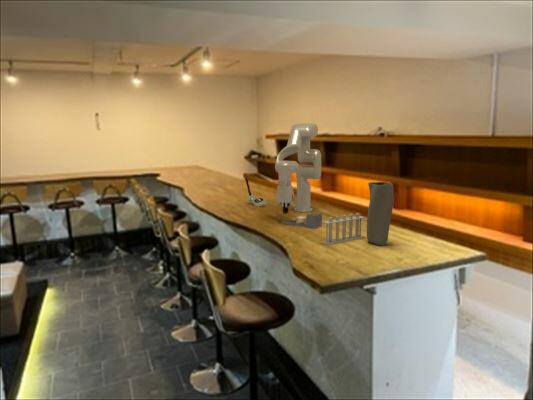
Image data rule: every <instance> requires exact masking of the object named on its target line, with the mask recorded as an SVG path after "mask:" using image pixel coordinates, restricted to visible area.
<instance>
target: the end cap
mask: <svg viewBox="0 0 533 400" xmlns="http://www.w3.org/2000/svg"><path fill="white" fill-rule="evenodd" d="M305 217H306V227H305V228H307V229H314V230H317V229H319V228H320V227H322V226H323V225H322V224H323V220H322V219H323V213H320V212H311V213H310V212H309V213H308V214H306V216H305Z"/></svg>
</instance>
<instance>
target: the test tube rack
mask: <svg viewBox="0 0 533 400" xmlns="http://www.w3.org/2000/svg"><path fill="white" fill-rule="evenodd" d="M348 216H349V217H347V215H346V214H343V215H342V218H340V215H336V216H335V219H333V217H332V216H329V217H328V220H324V221H323V220H322V224H323V223H324V224H325V225H326V228H325V233H326V234H325V235H326V236H325V240H324V241H323V240H322V241H321V243H322V244H324V245H326V246H329V245H333V244H339V243H344V242H346V243H347V242H350V241H355V240H359V239H360V240H361V239H365V238H366V236H365V235H362V219H366V217H365V216H362V215H360V213H359V212H355V216H354V214H353V213H350V214H348ZM354 221H355V225H354V226H355V229H354V230H355V231H354V232H355V233H354V235H353V224H354V223H353V222H354ZM347 222H348V236H346V235H347V233H346V232H347ZM340 223H342V228H341V229H342V230H341V231H342V233H341V236H342V237H340ZM333 224H335V238H334V239H333Z"/></svg>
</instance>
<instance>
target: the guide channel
mask: <svg viewBox="0 0 533 400" xmlns="http://www.w3.org/2000/svg"><path fill="white" fill-rule="evenodd" d="M281 222H282V225H286V226H287V225H288V226H296V227H302V228H306V224H300V223H296V219H294V220H293V219H287V220H286V221H284V220H282V221H281Z"/></svg>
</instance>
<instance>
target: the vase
mask: <svg viewBox="0 0 533 400" xmlns="http://www.w3.org/2000/svg"><path fill="white" fill-rule="evenodd" d="M367 184H368V190H369V204H368V210H367V216H366V239H367V241H368V242H369V243H371V244H374V245H378V246H386V245H387V243H388V241H389V240H388V239H389V232H390V225H391V219H392V213H393V209H394V202H395V201H394V200H395V194H394V191H395V190H394V184H393V183H391V182H387V181H376V182H375V181H371V182H368V183H367ZM385 244H386V245H385Z"/></svg>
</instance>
